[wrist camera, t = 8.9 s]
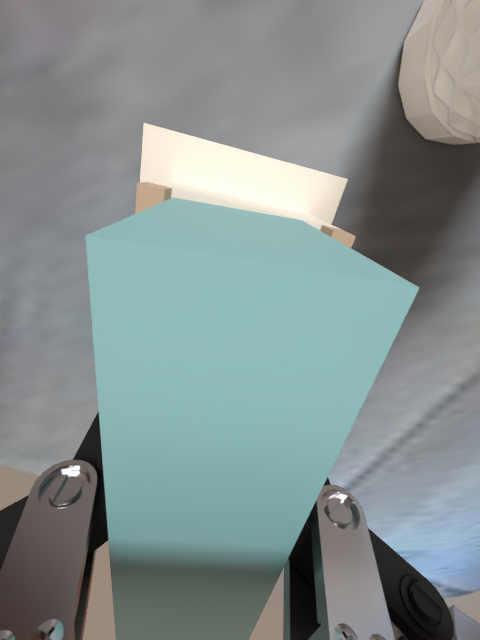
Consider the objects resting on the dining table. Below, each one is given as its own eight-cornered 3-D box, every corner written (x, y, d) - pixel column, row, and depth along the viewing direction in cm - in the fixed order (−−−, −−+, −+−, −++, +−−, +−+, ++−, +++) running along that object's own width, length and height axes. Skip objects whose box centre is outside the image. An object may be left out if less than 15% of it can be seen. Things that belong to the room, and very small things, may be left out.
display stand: (340, 179, 15) (427, 181, 9) (255, 420, 23) (268, 515, 16) (149, 126, 13) (81, 81, 7) (129, 403, 21) (88, 501, 15)
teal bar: (301, 220, 9) (419, 287, 4) (232, 490, 15) (237, 662, 10) (173, 197, 8) (86, 235, 3) (156, 486, 15) (117, 665, 9)
